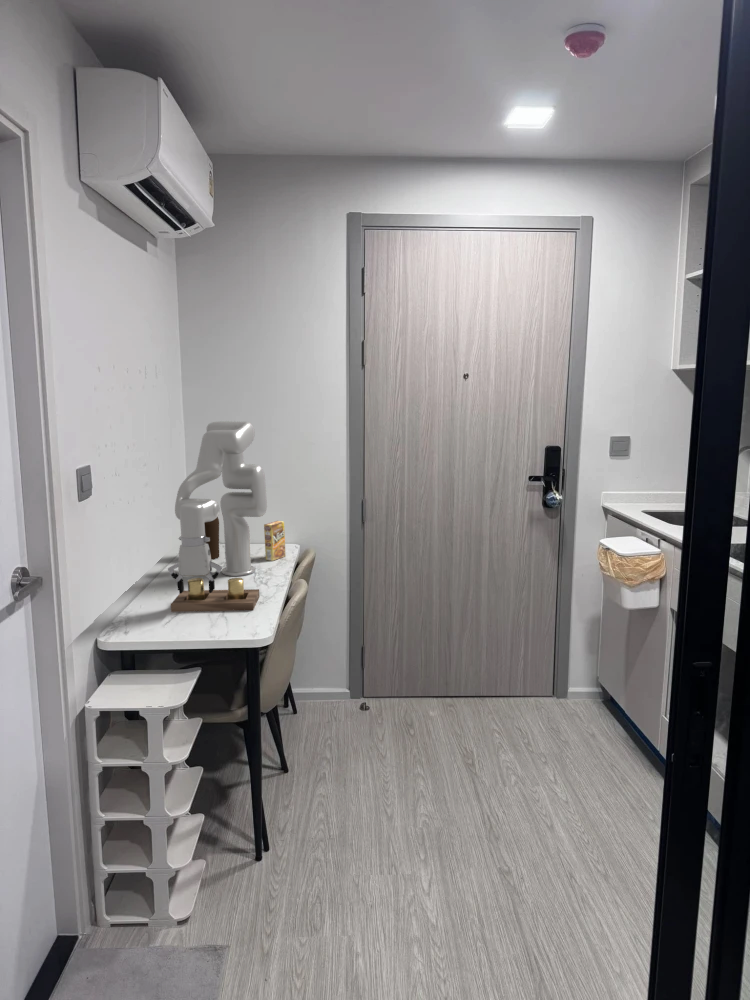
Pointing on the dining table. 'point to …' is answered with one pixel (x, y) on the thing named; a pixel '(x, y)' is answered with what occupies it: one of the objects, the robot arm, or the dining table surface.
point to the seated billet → (236, 588)
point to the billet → (196, 589)
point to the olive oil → (213, 537)
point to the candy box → (274, 540)
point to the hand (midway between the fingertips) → (196, 591)
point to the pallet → (215, 601)
